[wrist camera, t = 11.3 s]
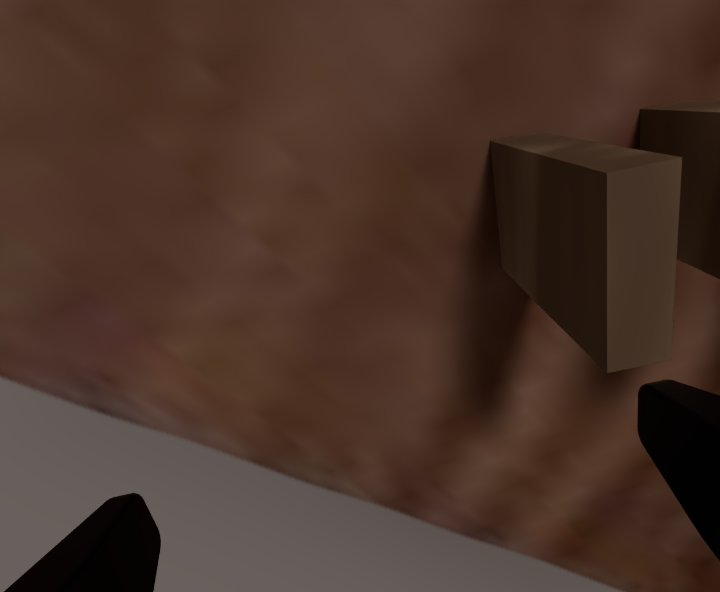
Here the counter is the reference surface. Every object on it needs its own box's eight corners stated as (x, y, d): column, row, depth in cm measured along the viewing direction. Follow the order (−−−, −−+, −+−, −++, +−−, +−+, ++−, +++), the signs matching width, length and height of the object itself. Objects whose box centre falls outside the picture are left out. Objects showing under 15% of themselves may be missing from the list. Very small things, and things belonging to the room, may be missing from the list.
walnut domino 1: (533, 131, 18) (682, 156, 10) (541, 260, 20) (670, 360, 12) (490, 141, 18) (607, 172, 10) (501, 268, 20) (607, 373, 12)
